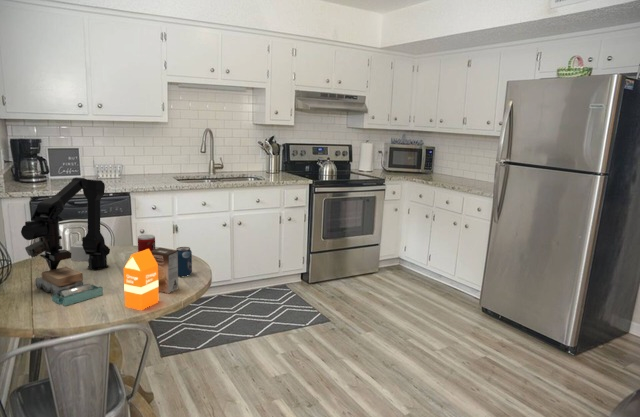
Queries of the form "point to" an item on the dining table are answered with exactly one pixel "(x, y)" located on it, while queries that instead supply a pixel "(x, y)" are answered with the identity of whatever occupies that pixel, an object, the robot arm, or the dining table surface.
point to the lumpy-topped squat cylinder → (78, 252)
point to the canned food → (146, 242)
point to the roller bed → (57, 290)
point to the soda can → (184, 261)
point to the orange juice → (141, 280)
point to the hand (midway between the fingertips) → (52, 272)
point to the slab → (62, 276)
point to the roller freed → (76, 290)
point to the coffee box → (166, 269)
